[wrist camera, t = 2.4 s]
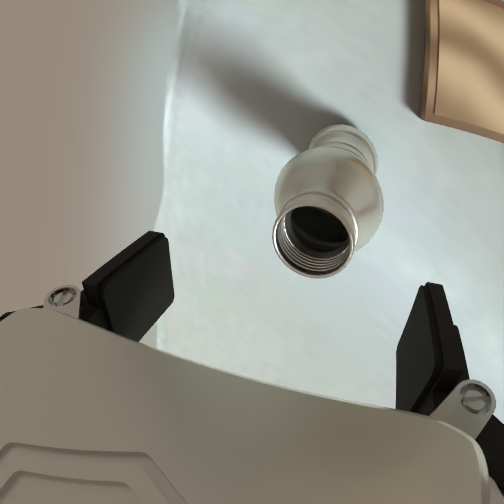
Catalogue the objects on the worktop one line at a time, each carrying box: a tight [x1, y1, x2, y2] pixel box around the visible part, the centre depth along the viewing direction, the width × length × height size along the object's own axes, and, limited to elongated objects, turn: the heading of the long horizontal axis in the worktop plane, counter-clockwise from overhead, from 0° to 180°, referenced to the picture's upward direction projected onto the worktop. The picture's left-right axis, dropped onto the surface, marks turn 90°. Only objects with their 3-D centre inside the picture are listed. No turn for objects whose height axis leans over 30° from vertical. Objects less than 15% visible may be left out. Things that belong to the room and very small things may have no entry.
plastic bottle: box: [272, 124, 384, 278], centre depth 22 cm, size 6×7×20 cm
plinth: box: [420, 0, 504, 143], centre depth 19 cm, size 14×14×3 cm
